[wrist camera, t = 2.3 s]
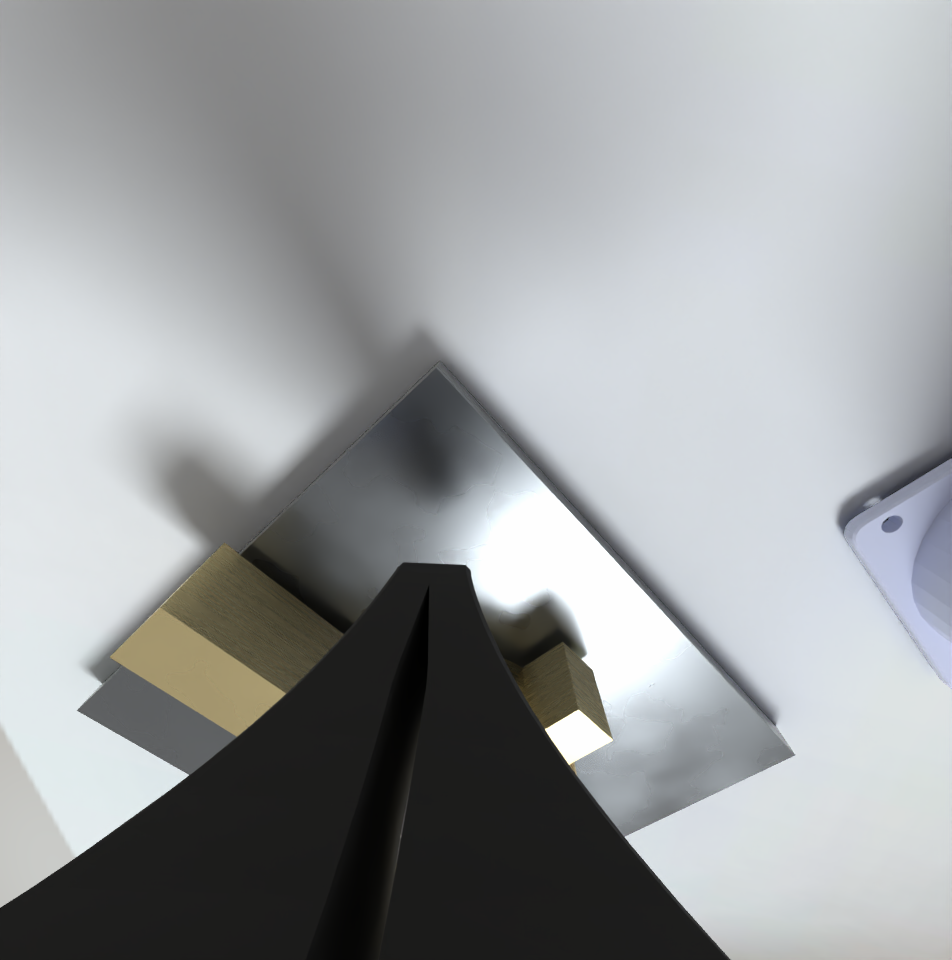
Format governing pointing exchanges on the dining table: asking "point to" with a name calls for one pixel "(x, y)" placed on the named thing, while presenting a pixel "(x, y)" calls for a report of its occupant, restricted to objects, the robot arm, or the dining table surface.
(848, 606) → the dining table surface
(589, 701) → the gold cross-shaped piece
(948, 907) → the dining table surface
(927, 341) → the dining table surface
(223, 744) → the flange plate
